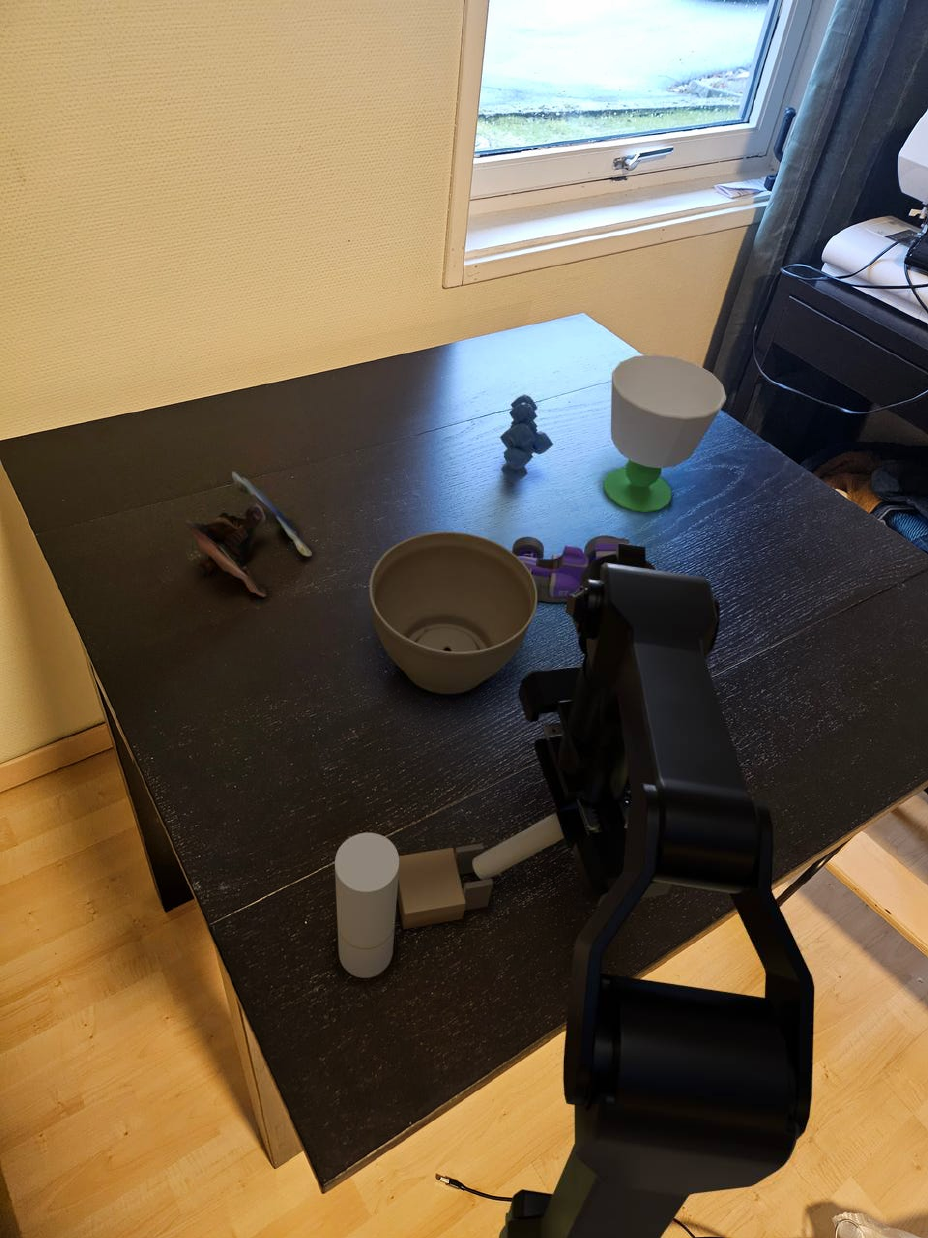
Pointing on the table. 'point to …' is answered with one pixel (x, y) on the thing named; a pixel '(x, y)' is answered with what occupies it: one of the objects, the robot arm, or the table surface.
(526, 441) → the grapes
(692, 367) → the cup
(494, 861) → the marker
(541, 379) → the table surface
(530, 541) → the toy race car
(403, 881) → the tan block with prongs
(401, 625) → the planter bowl
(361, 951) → the tube
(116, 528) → the table surface
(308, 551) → the figurine
